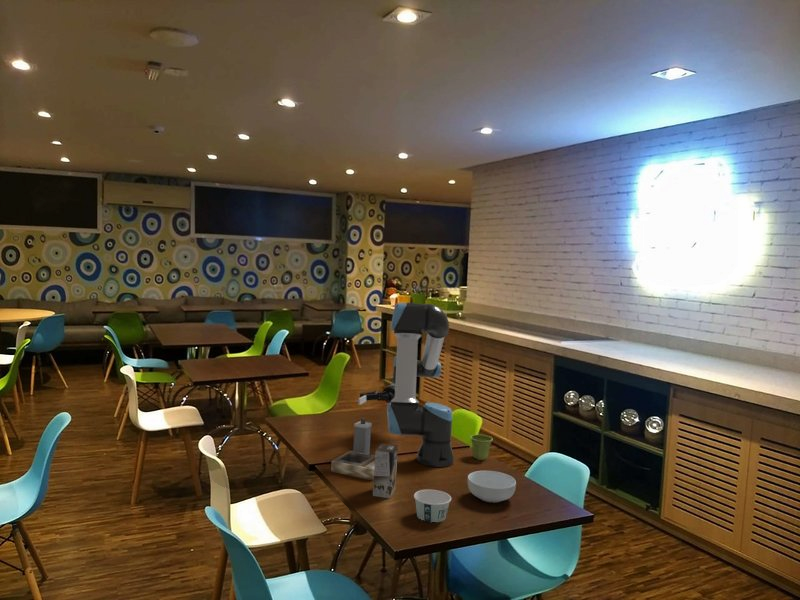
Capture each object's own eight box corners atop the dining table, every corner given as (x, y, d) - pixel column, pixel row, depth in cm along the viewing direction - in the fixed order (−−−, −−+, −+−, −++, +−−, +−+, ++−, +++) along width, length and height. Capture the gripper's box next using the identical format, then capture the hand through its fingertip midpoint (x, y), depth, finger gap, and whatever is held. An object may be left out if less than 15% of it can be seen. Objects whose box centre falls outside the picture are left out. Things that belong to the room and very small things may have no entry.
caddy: (390, 468, 232) (391, 458, 232) (374, 480, 218) (374, 470, 218) (349, 460, 239) (349, 450, 239) (331, 471, 225) (331, 461, 225)
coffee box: (390, 498, 202) (393, 452, 201) (372, 496, 204) (374, 450, 203) (396, 489, 211) (398, 444, 210) (378, 487, 213) (381, 442, 212)
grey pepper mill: (369, 456, 246) (372, 418, 245) (364, 460, 241) (366, 421, 240) (358, 454, 248) (360, 416, 247) (352, 457, 243) (354, 419, 242)
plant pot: (492, 462, 248) (494, 441, 247) (470, 460, 248) (471, 440, 248) (489, 455, 257) (491, 435, 257) (468, 453, 257) (469, 433, 257)
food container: (420, 506, 198) (421, 486, 198) (454, 513, 193) (456, 494, 193) (406, 519, 187) (408, 498, 187) (443, 527, 182) (444, 506, 182)
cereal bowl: (458, 491, 213) (459, 472, 213) (498, 487, 219) (499, 468, 219) (481, 510, 197) (483, 489, 197) (524, 505, 203) (525, 485, 203)
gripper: (417, 405, 267) (400, 418, 248) (366, 396, 276) (346, 408, 256) (418, 389, 267) (402, 400, 247) (367, 381, 275) (347, 391, 256)
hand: (373, 404), depth 252 cm, fingers open, 13 cm apart
